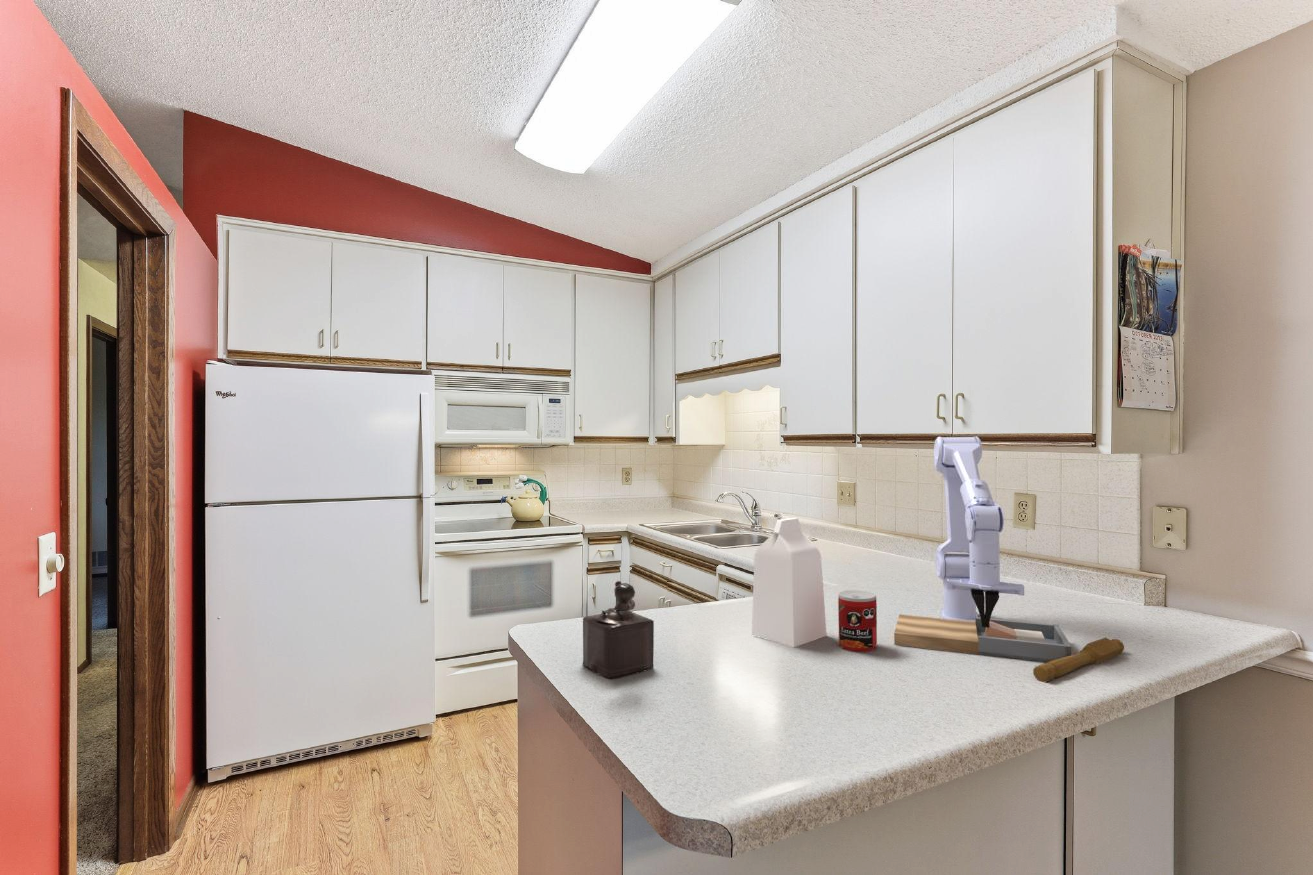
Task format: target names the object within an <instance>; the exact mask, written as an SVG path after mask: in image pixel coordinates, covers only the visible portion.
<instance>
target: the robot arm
mask: <svg viewBox="0 0 1313 875" xmlns="http://www.w3.org/2000/svg"><path fill="white" fill-rule="evenodd" d="M933 453H934V454H933V457H934V458H933V459H934V466H935V470H936V471H937V472H938V473H941V474H942V478H943V482H944V498H945V500H944V501H945V515H946V530H947V532H946V533H947V540H946V541H944V542H942V543H941V544H940V545H939V546H937V549H936V552H935V553H936V555H935V556H936V557H935V571H936V575H937V577H938V578H939V579H940V580H942V592H943V594H942V598H943V606H942V607H943V608H941V618H943V619H953V620H964V621H974V622H975V617H979V618H981V624H982V627H989V622H990V619H991V618H992V615H993V611H994V609H995V608H996V605H997V603H998V602H999V598H1000V594H1007V595H1008V594H1010V595H1018V596H1023V597H1024V596H1025V586H1024V584H1020V583H1012V582H1005V581H1001V575H1000V574H1001V572H1000V571H1001V568H1000V561H1001V560H1000V558H1001V557H1000V533H1002V532H1003V530H1004V524H1005V523H1004V522H1005V520H1004V519H1005V518H1004V513H1003V509H1002V506H1001V505H999V504H998V503H997V501H994V500H993V497H992V494H991V491H990V488H989V485H988V483H987V482H986V481H985V480H982V479H981V476H980V472H979V468H978V464H979V463H980V461H981V458H982V456H983V444H982V440H981V439H980V438H979V436H977V435H976V436H965V437H964V436H959V437H958V436H949V437H948V436H947V437H942V436H937V437H936V438H935V440H934V446H933ZM948 552H949V553H948ZM977 610H978V611H977ZM978 613H979V615H978Z"/></svg>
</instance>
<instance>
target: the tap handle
mask: <svg viewBox="0 0 1313 875" xmlns="http://www.w3.org/2000/svg"><path fill="white" fill-rule="evenodd" d="M1124 650H1125V645H1124V643H1123V642H1122V641H1121V640H1119V639H1117V638H1111V639H1110V638H1108V637H1106V636H1105V637H1103V638H1100V639H1097V640H1095V641H1091V642H1088V643H1086V645H1085V646H1084V647H1083V648H1082V649H1081V650H1080V651H1079V652H1078V653H1076V654H1075V653H1074V654H1072V655H1071V656H1067V657H1063V658H1060V659H1056V660H1053V661H1050V662H1043V663H1041V664H1038V665H1036V666H1034V668H1033V669H1032V673H1033V676H1034V677H1035V679H1036V681H1039V682H1042V683H1046V682H1050V681H1051V680H1054V679H1057V678H1058V677H1062V676H1065V675H1067V674H1068V673H1070V672H1072V671H1075V670H1076V669H1078V668H1080V667H1083V666H1085V665H1091V664H1095V665H1096V664H1099V663H1102V662H1104V661H1107V660H1109V659H1112V658H1114V657H1117V656H1118V655H1119V654H1121V653H1123V652H1124Z"/></svg>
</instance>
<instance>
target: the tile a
mask: <svg viewBox="0 0 1313 875" xmlns="http://www.w3.org/2000/svg"><path fill="white" fill-rule="evenodd" d="M985 633H986V637H996V638H1005V639H1016V633H1015V631H1014V629H1011V628H1008V627H1005V626H1003V625H1000V624H997V623H994V622H991V621H990V622H989V627H986V630H985Z"/></svg>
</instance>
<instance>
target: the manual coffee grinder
mask: <svg viewBox="0 0 1313 875" xmlns="http://www.w3.org/2000/svg"><path fill="white" fill-rule="evenodd" d="M614 586H615V587H614V589H613V592H614V597H615V606H614V607H609V608H608V609H606V610H601V613H599V614H594V615H589V616H588V615H587V616H583V618H582V655H583V656H582V665H583V666H584V665H585V666H584V667H586V668H587V669H589V670H590V671H591V672H594V673H595V674H598V675H600V676H603V677H605V678H608V679H616V678H623V677H628V676H631V675H634V674H638V673H637V672H639V673H642V671H643V672H645V671H644V670H646V671H649V670H652V669H653V668H654V646H655V645H654V644H655V640H654V639H655V638H654V637H655V633H654V632H655V631H654V630H655V629H654V627H655V626H654V625H655V624H654V622H655V620H653V619H651V618H648V617H646V616H643V615H640V614H638V613H636V612H633V611H631V610H633V609H636V603H635V600H633V598H634V597H635V596H636V591H635V588H634V586H633V585H631V584H629V583H626V582H624V583H623V582H622V581H620V580H617V581H615V583H614ZM651 668H652V669H651ZM648 669H649V670H648Z"/></svg>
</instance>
